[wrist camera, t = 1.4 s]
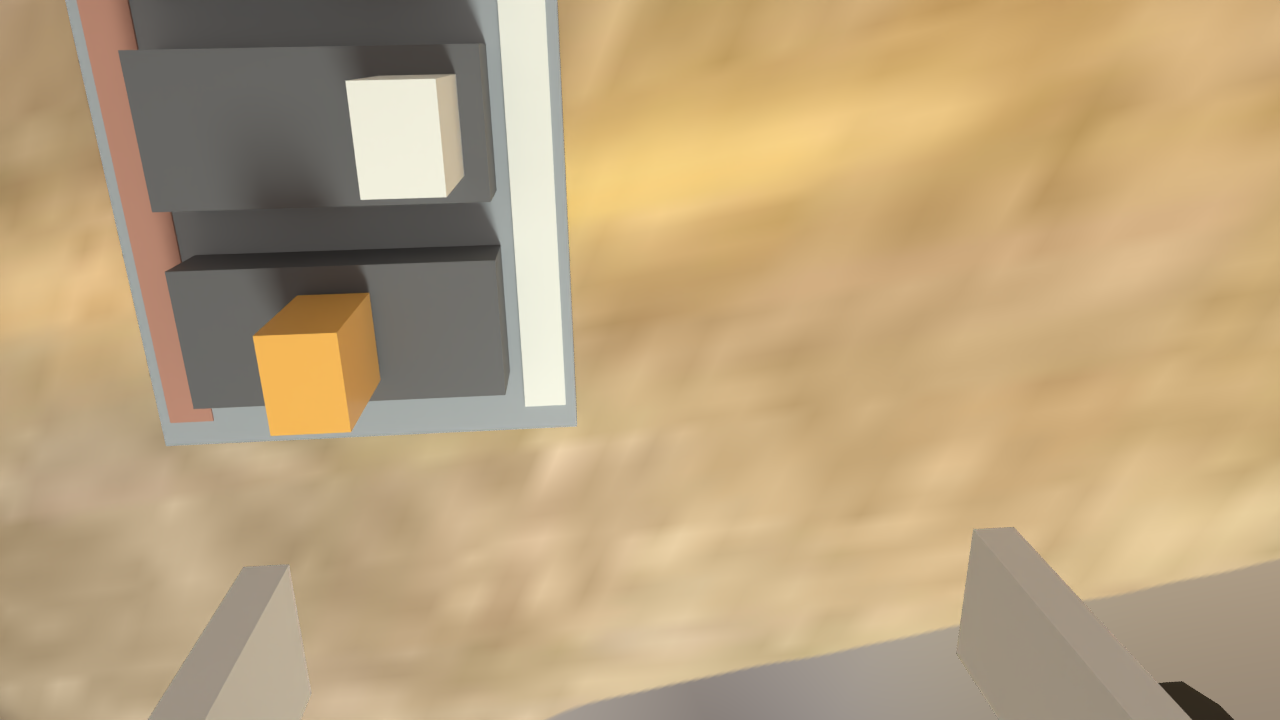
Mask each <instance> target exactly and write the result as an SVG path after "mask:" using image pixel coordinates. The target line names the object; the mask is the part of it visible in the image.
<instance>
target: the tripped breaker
mask: <svg viewBox="0 0 1280 720" xmlns="http://www.w3.org/2000/svg"><path fill="white" fill-rule="evenodd" d="M253 341H254V346H255V352H256V357H257V363H258V369H259V374H260V380H261V385H262V391H263V396H264V402H265V407H266V413H267V418H268V424H269V430H270V435H271V436H282V435H303V434H324V433H345V432H352V430H353V428H354V426H355V425H356V423H357V421H358V419H359V417H360V416H361V414H362V412H363V410H364V409H365V407H366V405H367V403H368V402H369V400H370V398H371V396H372V395H373V393H374V391H375V389H376V388H377V386H378V384H379V382H380V380H381V379H380V371H379V364H378V356H377V348H376V341H375V333H374V325H373V317H372V310H371V302H370V294H369V293H348V294H321V295H297V296H296V297H295V298H294V299H293V300H292V301H291V302H289V303H288V304H287V305H286V306H285V307H284V308H283V309H282V310H281V311H280V312H279V313H277V314H276V315H275V316H274V317H273V318H272V319H271V320H270V321H269V322H268V323H266V324H265V325H264V326H263V327H262V328H261V329H260V330H259V331H258V332H257V333H256V334H254V335H253Z"/></svg>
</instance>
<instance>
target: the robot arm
mask: <svg viewBox="0 0 1280 720" xmlns="http://www.w3.org/2000/svg"><path fill="white" fill-rule="evenodd" d="M956 654H957V656H958V657H959V659H960V660H961V662H962V663H963V665H964V667H965V668H966V670H967V671H968V673H969V674H970V676H971V678H972V679H973V681H974V682H975V684H976V685H977V687H978V688H979V690H980V692H981V693H982V695H983V696H984V698H985V700H986V701H987V703H988V704H989V706H990V707H991V709H992V710H993V712H994V714H995V715H996V717H997V718H998V720H1234V719H1233V718H1232V717H1231V716H1230V715H1229V714H1228V713H1227V712H1226V711H1225V710H1224V709H1223V708H1222V707H1221V706H1220V705H1219V704H1217V703H1215V702H1214V701H1212V700H1211V699H1209V698H1207V697H1206V696H1204V695H1203V694H1201V693H1200V692H1198V691H1196V690H1195V689H1193V688H1191V687H1190V686H1188V685H1187V684H1185V683H1184V682H1182V681H1181V682H1166V683H1157V682H1156V680H1155V679H1154V678H1153V677H1152V676H1151V675H1150V674H1149V673H1148V672H1147V671H1146V669H1145V668H1143V667H1142V666H1141V664H1140V663H1139V662H1138V661H1137V660H1136V659H1135V658H1134V657H1133V656H1132V654H1131V653H1130V652H1129V651H1128V650H1127V649H1126V648H1125V647H1124V646H1123V645H1122V644H1121V642H1120V641H1119V640H1118V639H1117V638H1116V637H1115V636H1114V635H1113V634H1112V633H1111V632H1110V631H1109V629H1108V628H1106V626H1105V625H1104V624H1103V623H1102V622H1101V621H1100V620H1099V619H1098V618H1097V617H1096V616H1095V614H1094V613H1093V612H1092V611H1091V610H1090V609H1089V608H1088V607H1087V606H1086V605H1085V604H1084V602H1083V601H1082V600H1081V599H1080V598H1079V597H1078V596H1077V595H1076V594H1075V593H1074V592H1073V591H1072V589H1071V588H1070V587H1069V586H1068V585H1067V584H1066V583H1065V582H1064V581H1063V580H1062V579H1061V578H1060V577H1059V575H1058V574H1057V573H1056V572H1055V571H1054V570H1053V569H1052V568H1051V567H1050V566H1049V565H1048V564H1047V562H1046V561H1045V560H1044V559H1043V558H1042V557H1041V556H1040V555H1039V554H1038V553H1037V552H1036V551H1035V549H1034V548H1033V547H1032V546H1031V545H1030V544H1029V543H1028V542H1027V541H1026V540H1025V539H1024V538H1023V537H1022V535H1021V534H1020V533H1019V532H1018V531H1017V530H1016V529H1015V528H1014V527H1005V528H986V529H973V534H972V542H971V549H970V556H969V564H968V571H967V578H966V585H965V593H964V600H963V607H962V615H961V622H960V630H959V636H958V644H957V651H956ZM310 696H311V688H310V682H309V676H308V670H307V665H306V659H305V653H304V647H303V642H302V636H301V630H300V624H299V619H298V613H297V607H296V602H295V596H294V590H293V584H292V579H291V573H290V567H289V564H288V565H268V566H249V567H243V569H242V570H241V572H240V573H239V575H238V576H237V578H236V580H235V581H234V583H233V584H232V586H231V588H230V589H229V591H228V592H227V594H226V596H225V597H224V599H223V600H222V602H221V604H220V605H219V607H218V608H217V610H216V612H215V613H214V615H213V616H212V618H211V620H210V621H209V623H208V624H207V626H206V628H205V629H204V631H203V632H202V634H201V636H200V637H199V639H198V640H197V642H196V643H195V645H194V647H193V648H192V650H191V651H190V653H189V655H188V656H187V658H186V659H185V661H184V663H183V664H182V666H181V667H180V669H179V671H178V672H177V674H176V675H175V677H174V679H173V680H172V682H171V683H170V685H169V687H168V688H167V690H166V691H165V693H164V695H163V696H162V698H161V699H160V701H159V703H158V704H157V706H156V707H155V709H154V711H153V712H152V714H151V715H150V717H149V718H148V720H301V718H302V716H303V713H304V711H305V708H306V706H307V703H308V701H309V698H310Z"/></svg>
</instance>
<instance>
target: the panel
mask: <svg viewBox="0 0 1280 720" xmlns="http://www.w3.org/2000/svg"><path fill="white" fill-rule="evenodd" d="M65 1H66V6H67V10H68V15H69V19H70V24H71V28H72V32H73V37H74V41H75V46H76V50H77V54H78V59H79V63H80V68H81V72H82V76H83V81H84V85H85V90H86V94H87V99H88V103H89V107H90V112H91V116H92V121H93V125H94V129H95V134H96V138H97V143H98V147H99V152H100V156H101V160H102V165H103V169H104V174H105V178H106V182H107V187H108V191H109V196H110V200H111V205H112V209H113V213H114V218H115V222H116V227H117V231H118V235H119V240H120V244H121V249H122V253H123V258H124V262H125V266H126V271H127V275H128V280H129V284H130V288H131V293H132V297H133V302H134V306H135V311H136V315H137V319H138V324H139V328H140V333H141V337H142V341H143V346H144V350H145V355H146V359H147V364H148V368H149V372H150V377H151V381H152V386H153V390H154V394H155V399H156V403H157V408H158V412H159V417H160V421H161V425H162V430H163V434H164V439H165V443H166V446H176V445H197V444H218V443H239V442H259V441H280V440H301V439H322V438H343V437H364V436H385V435H406V434H427V433H448V432H469V431H490V430H511V429H531V428H552V427H573V426H577V408H576V386H575V365H574V344H573V322H572V301H571V280H570V258H569V237H568V216H567V194H566V173H565V152H564V130H563V109H562V88H561V66H560V45H559V24H558V2H557V0H65ZM348 293H369V294H370V302H371V310H372V317H373V325H374V333H375V341H376V348H377V356H378V364H379V371H380V379H381V380H380V382H379V384H378V386H377V388H376V389H375V391H374V393H373V395H372V396H371V398H370V400H369V402H368V403H367V405H366V407H365V409H364V410H363V412H362V414H361V416H360V417H359V419H358V421H357V423H356V425H355V426H354V428H353V430H352V432H345V433H324V434H303V435H282V436H271V435H270V430H269V424H268V418H267V413H266V407H265V402H264V396H263V391H262V385H261V380H260V374H259V369H258V363H257V357H256V352H255V346H254V341H253V335H254V334H256V333H257V332H258V331H259V330H260V329H261V328H262V327H263V326H264V325H265V324H266V323H268V322H269V321H270V320H271V319H272V318H273V317H274V316H275V315H276V314H277V313H279V312H280V311H281V310H282V309H283V308H284V307H285V306H286V305H287V304H288V303H289V302H291V301H292V300H293V299H294V298H295V297H296V296H297V295H321V294H348Z"/></svg>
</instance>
